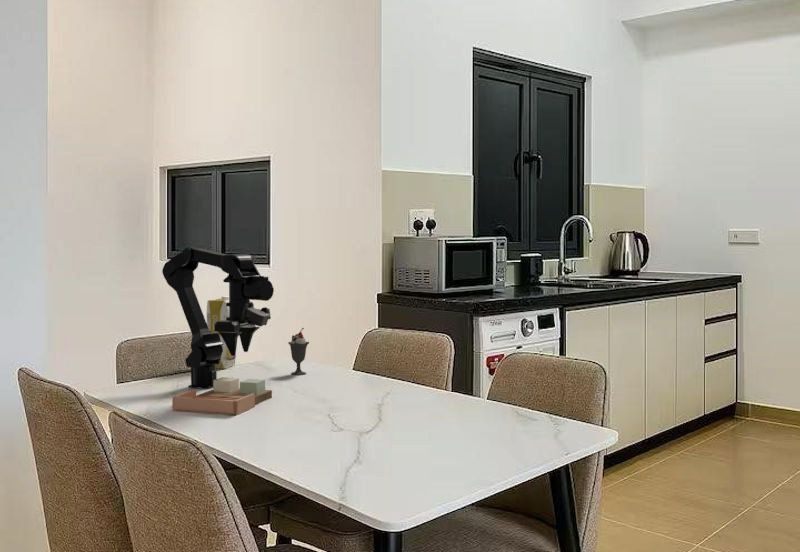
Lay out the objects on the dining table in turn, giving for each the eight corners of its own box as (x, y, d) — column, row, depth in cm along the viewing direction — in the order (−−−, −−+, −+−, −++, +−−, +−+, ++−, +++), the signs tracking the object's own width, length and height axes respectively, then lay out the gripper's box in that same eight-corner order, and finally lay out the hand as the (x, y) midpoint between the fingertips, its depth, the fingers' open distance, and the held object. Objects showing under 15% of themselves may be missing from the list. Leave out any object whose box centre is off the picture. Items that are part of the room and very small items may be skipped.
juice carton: (226, 369, 260) (226, 297, 258) (204, 368, 261) (203, 296, 260) (238, 365, 269) (237, 295, 268) (216, 364, 270) (216, 294, 269)
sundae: (307, 375, 249) (307, 328, 248) (286, 375, 249) (286, 328, 249) (310, 372, 256) (310, 326, 255) (289, 371, 256) (289, 326, 255)
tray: (172, 410, 200) (172, 396, 200) (193, 402, 209) (193, 389, 209) (236, 415, 195) (236, 401, 194) (254, 406, 204) (254, 393, 204)
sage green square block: (239, 393, 212) (239, 382, 212) (248, 389, 217) (248, 378, 217) (256, 394, 211) (256, 383, 210) (265, 390, 215) (265, 379, 215)
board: (197, 402, 209) (196, 395, 209) (219, 393, 221) (219, 386, 220) (251, 406, 204) (251, 399, 204) (271, 397, 216) (271, 390, 216)
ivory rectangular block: (213, 391, 214) (213, 380, 214) (222, 387, 219) (222, 377, 219) (230, 392, 213) (229, 381, 213) (238, 388, 218) (238, 378, 217)
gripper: (250, 302, 211) (250, 360, 211) (279, 297, 228) (279, 350, 229) (212, 301, 214) (213, 358, 215) (245, 295, 232) (245, 348, 232)
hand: (239, 353), depth 223 cm, fingers open, 7 cm apart
